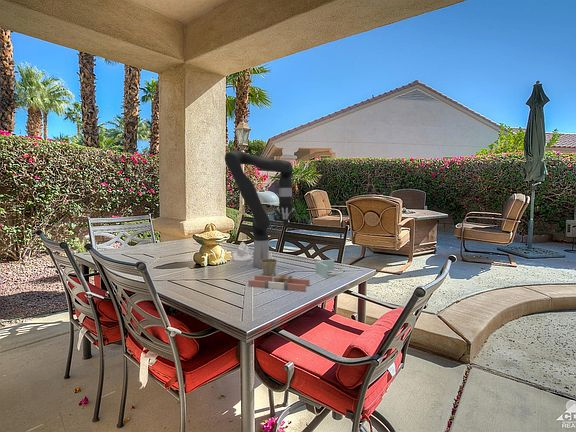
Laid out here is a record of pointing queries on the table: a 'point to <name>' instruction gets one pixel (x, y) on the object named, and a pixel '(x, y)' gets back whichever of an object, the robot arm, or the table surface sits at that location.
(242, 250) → the citrus juicer
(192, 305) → the table surface
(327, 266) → the right angle wall
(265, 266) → the flower pot
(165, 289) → the table surface
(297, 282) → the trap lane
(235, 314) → the table surface
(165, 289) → the table surface
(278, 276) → the walnut block
